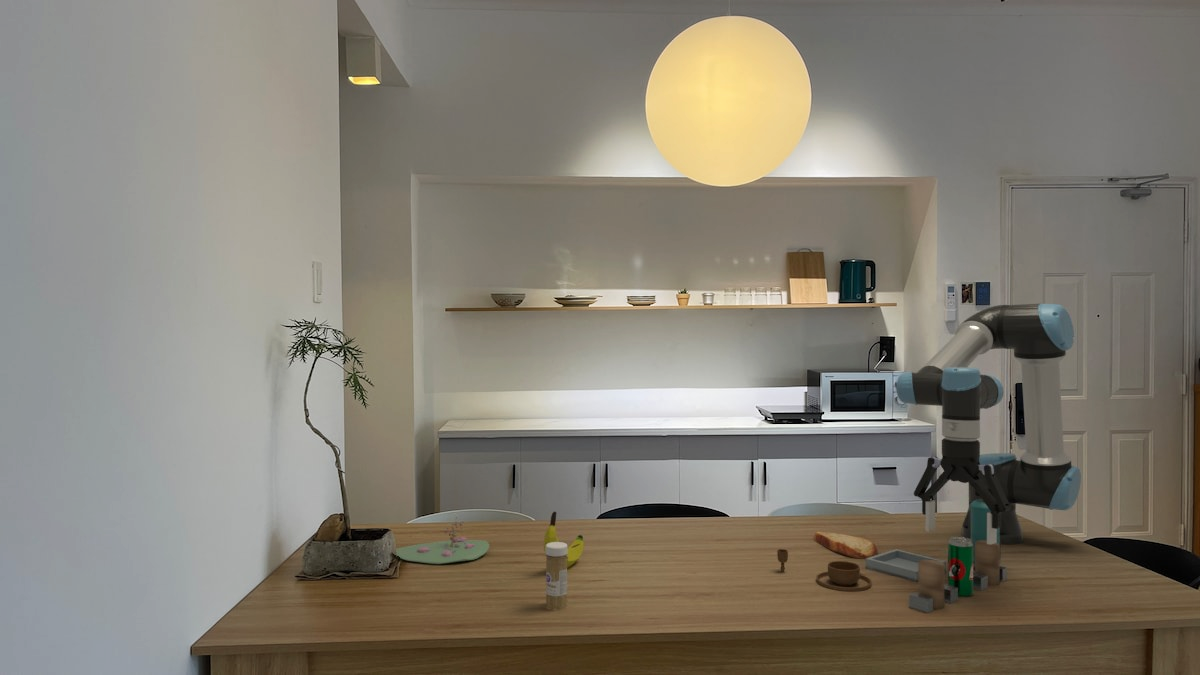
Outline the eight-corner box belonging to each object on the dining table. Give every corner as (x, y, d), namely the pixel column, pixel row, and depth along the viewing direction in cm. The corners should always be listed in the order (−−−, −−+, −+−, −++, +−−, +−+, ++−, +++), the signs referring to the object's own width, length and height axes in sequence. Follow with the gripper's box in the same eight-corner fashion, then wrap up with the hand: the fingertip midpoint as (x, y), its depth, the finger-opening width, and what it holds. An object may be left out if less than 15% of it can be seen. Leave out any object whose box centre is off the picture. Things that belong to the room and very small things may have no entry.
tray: (895, 559, 194) (895, 549, 194) (945, 571, 183) (945, 561, 183) (865, 568, 186) (865, 558, 186) (916, 582, 175) (916, 571, 175)
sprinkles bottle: (541, 609, 160) (540, 544, 159) (556, 603, 163) (556, 539, 163) (557, 614, 157) (556, 548, 156) (572, 608, 160) (572, 543, 160)
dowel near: (926, 600, 164) (926, 558, 164) (949, 607, 160) (949, 563, 160) (913, 605, 161) (913, 562, 161) (936, 612, 157) (936, 568, 157)
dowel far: (981, 577, 179) (981, 539, 179) (1003, 583, 175) (1003, 543, 175) (970, 582, 176) (970, 542, 176) (993, 588, 172) (993, 547, 172)
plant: (390, 568, 189) (389, 531, 189) (392, 545, 209) (392, 512, 209) (492, 560, 195) (492, 525, 195) (485, 539, 215) (485, 507, 215)
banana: (589, 560, 194) (589, 500, 194) (557, 580, 178) (556, 515, 178) (573, 558, 196) (573, 498, 195) (539, 578, 180) (539, 513, 180)
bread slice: (815, 537, 216) (815, 523, 216) (883, 545, 208) (883, 531, 208) (801, 554, 200) (801, 539, 200) (874, 563, 192) (874, 548, 192)
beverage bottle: (1004, 575, 181) (1004, 489, 180) (973, 573, 182) (973, 488, 182) (995, 566, 187) (996, 484, 187) (966, 565, 188) (966, 483, 188)
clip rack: (989, 576, 180) (989, 563, 180) (1006, 580, 177) (1006, 567, 177) (909, 609, 159) (909, 594, 159) (927, 614, 156) (927, 599, 156)
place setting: (831, 601, 165) (831, 573, 165) (772, 574, 183) (772, 550, 183) (891, 588, 173) (891, 562, 173) (828, 564, 191) (828, 540, 191)
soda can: (976, 599, 165) (976, 542, 165) (950, 597, 166) (950, 541, 166) (969, 591, 170) (969, 536, 170) (945, 589, 171) (945, 535, 171)
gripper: (898, 433, 175) (897, 527, 175) (1012, 446, 155) (1011, 552, 155) (916, 431, 180) (915, 522, 180) (1028, 443, 160) (1028, 546, 160)
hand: (959, 536), depth 167 cm, fingers open, 13 cm apart
